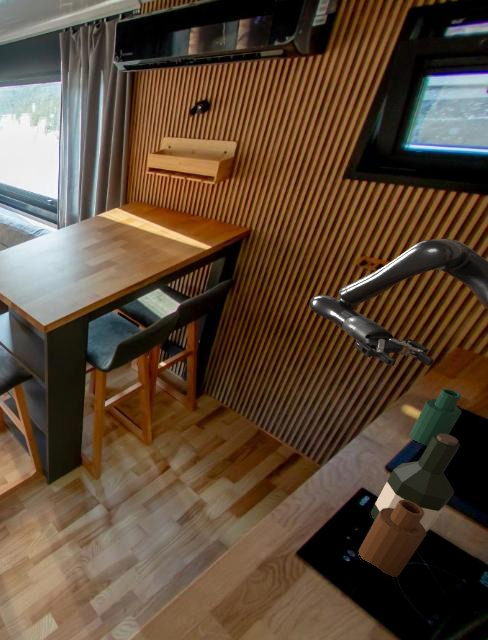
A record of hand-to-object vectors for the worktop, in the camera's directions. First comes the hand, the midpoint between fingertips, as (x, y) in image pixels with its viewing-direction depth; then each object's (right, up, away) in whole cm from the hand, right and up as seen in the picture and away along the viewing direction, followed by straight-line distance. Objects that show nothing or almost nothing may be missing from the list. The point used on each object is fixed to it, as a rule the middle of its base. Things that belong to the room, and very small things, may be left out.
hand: (412, 363), depth 104 cm
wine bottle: (-28, -35, -18) cm, 48 cm away
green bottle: (+1, -22, -2) cm, 22 cm away
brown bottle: (-39, -39, -24) cm, 60 cm away
